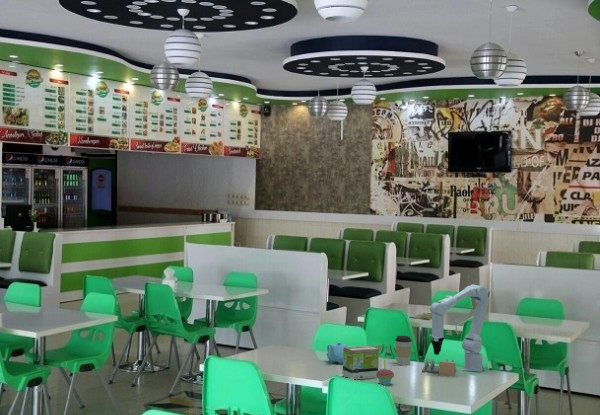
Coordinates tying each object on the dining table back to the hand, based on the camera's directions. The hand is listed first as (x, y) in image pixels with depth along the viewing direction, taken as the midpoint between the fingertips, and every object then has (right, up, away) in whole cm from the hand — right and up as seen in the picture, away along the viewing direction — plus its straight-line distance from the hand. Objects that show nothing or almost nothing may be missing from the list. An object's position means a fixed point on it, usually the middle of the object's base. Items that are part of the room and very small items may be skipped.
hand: (437, 353), depth 397 cm
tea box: (-40, -10, -13) cm, 43 cm away
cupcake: (-30, -10, -27) cm, 41 cm away
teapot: (-50, -10, +22) cm, 55 cm away
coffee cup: (-15, -10, +21) cm, 27 cm away
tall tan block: (+4, -10, -7) cm, 13 cm away
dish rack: (+2, -10, +5) cm, 11 cm away
